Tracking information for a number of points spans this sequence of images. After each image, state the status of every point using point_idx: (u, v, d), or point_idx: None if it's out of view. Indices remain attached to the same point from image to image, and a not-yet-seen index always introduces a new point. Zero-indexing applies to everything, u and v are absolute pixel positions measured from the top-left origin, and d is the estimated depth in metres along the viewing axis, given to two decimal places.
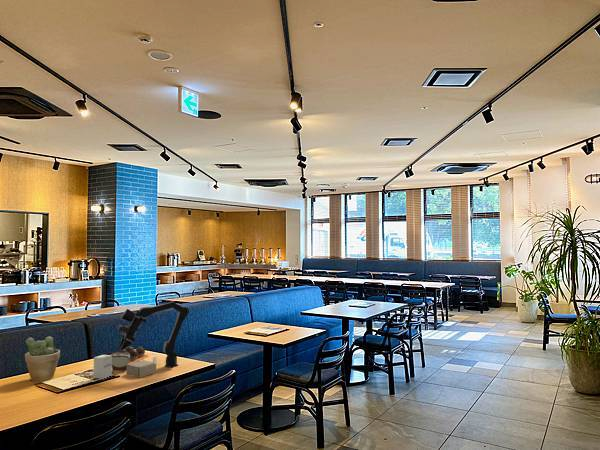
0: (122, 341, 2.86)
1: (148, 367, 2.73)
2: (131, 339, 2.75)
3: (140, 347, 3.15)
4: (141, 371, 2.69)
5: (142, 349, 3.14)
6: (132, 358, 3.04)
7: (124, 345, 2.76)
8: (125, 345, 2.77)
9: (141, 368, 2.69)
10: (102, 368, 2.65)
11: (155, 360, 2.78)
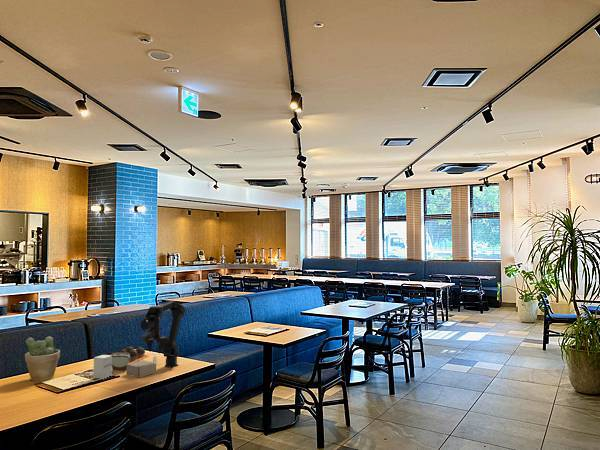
0: (149, 346, 2.81)
1: (148, 367, 2.73)
2: (165, 340, 2.74)
3: (140, 347, 3.15)
4: (141, 371, 2.69)
5: (142, 349, 3.14)
6: (132, 358, 3.04)
7: (160, 348, 2.75)
8: (161, 348, 2.75)
9: (141, 368, 2.69)
10: (102, 368, 2.65)
11: (155, 360, 2.78)
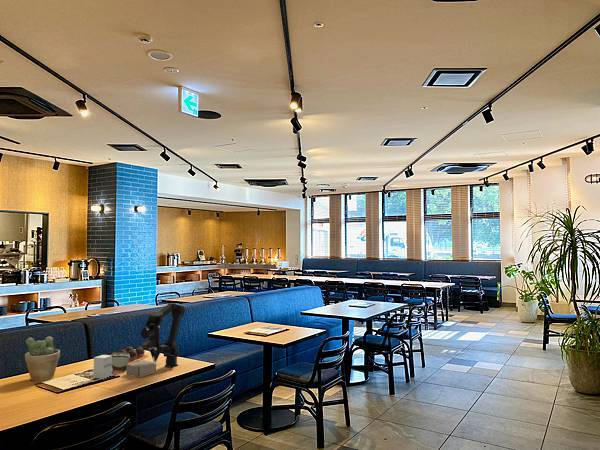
0: (153, 355, 2.78)
1: (148, 367, 2.73)
2: (166, 348, 2.74)
3: (140, 347, 3.14)
4: (141, 371, 2.69)
5: (141, 349, 3.13)
6: (131, 358, 3.04)
7: (156, 356, 2.77)
8: (157, 355, 2.77)
9: (141, 368, 2.69)
10: (102, 368, 2.65)
11: None
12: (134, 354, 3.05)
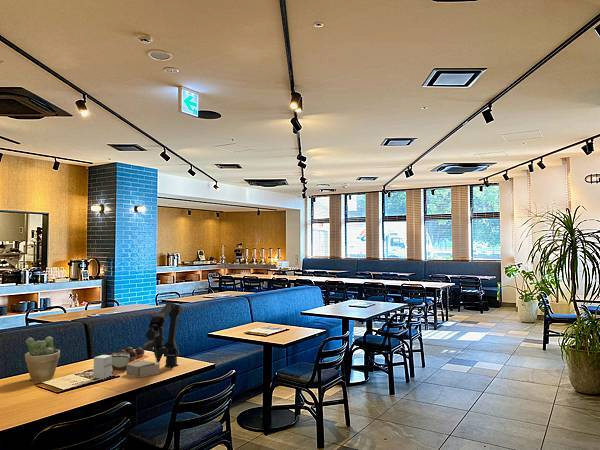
0: None
1: (149, 368, 2.72)
2: (164, 351, 2.68)
3: (139, 347, 3.14)
4: (141, 371, 2.69)
5: (141, 349, 3.13)
6: (131, 358, 3.03)
7: (158, 357, 2.74)
8: (159, 357, 2.74)
9: (141, 368, 2.69)
10: (102, 368, 2.65)
11: None
12: (134, 354, 3.04)
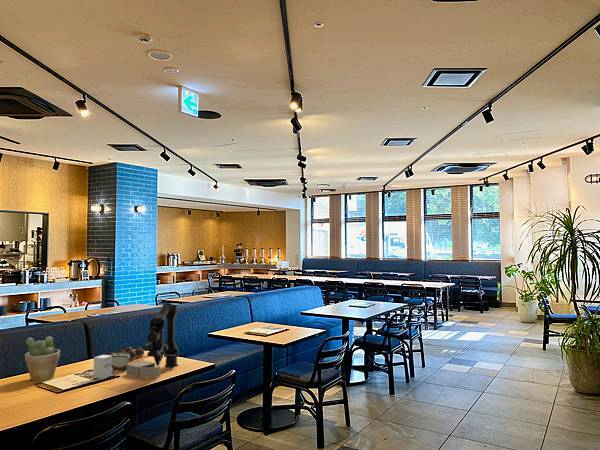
0: None
1: (149, 369, 2.69)
2: (153, 354, 2.60)
3: (139, 348, 3.13)
4: (141, 371, 2.68)
5: (141, 350, 3.12)
6: (130, 359, 3.03)
7: (156, 360, 2.67)
8: (157, 360, 2.67)
9: (141, 368, 2.68)
10: (102, 368, 2.65)
11: None
12: (133, 354, 3.04)
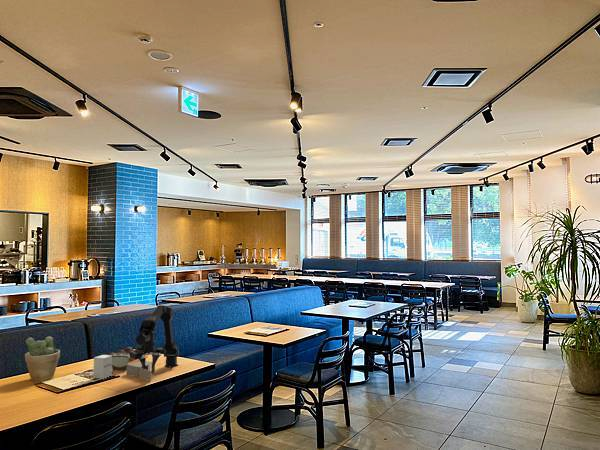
0: (153, 361, 2.64)
1: (144, 371, 2.64)
2: (134, 356, 2.54)
3: None
4: (140, 372, 2.67)
5: None
6: (129, 359, 3.02)
7: (142, 364, 2.58)
8: (142, 363, 2.58)
9: (140, 369, 2.68)
10: (102, 368, 2.65)
11: (149, 367, 2.61)
12: None
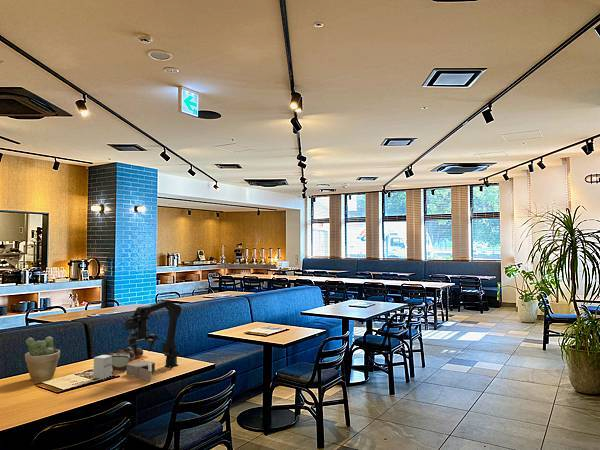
0: (148, 345, 2.80)
1: (144, 371, 2.64)
2: (128, 342, 2.69)
3: (138, 348, 3.12)
4: (140, 372, 2.67)
5: (140, 350, 3.11)
6: None
7: (133, 349, 2.72)
8: (133, 349, 2.72)
9: (140, 369, 2.68)
10: (102, 368, 2.65)
11: (149, 367, 2.61)
12: (131, 355, 3.02)
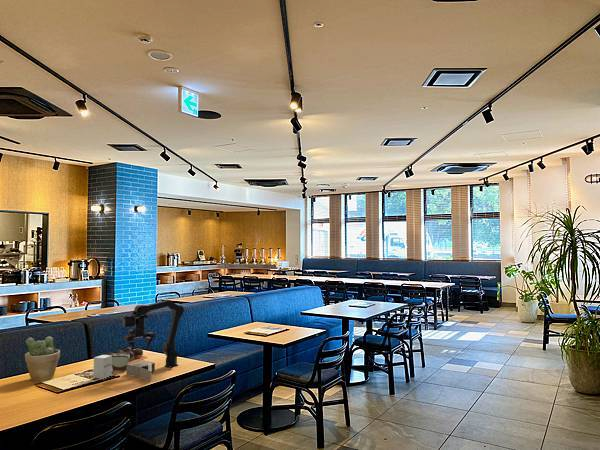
0: (146, 343, 2.85)
1: (144, 371, 2.64)
2: (126, 339, 2.75)
3: (138, 348, 3.11)
4: (140, 372, 2.67)
5: (139, 350, 3.10)
6: None
7: (131, 347, 2.78)
8: (131, 346, 2.77)
9: (140, 369, 2.68)
10: (102, 368, 2.65)
11: (149, 367, 2.61)
12: (130, 355, 3.02)
